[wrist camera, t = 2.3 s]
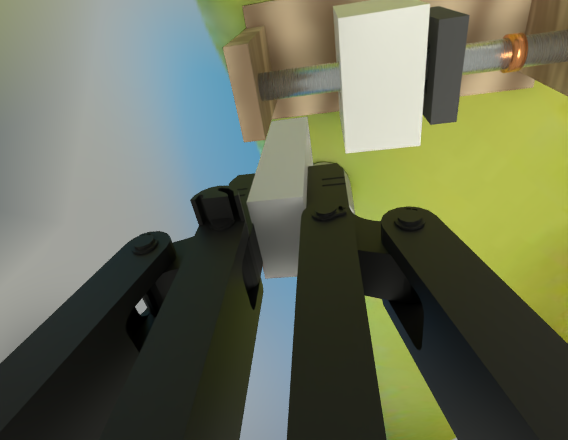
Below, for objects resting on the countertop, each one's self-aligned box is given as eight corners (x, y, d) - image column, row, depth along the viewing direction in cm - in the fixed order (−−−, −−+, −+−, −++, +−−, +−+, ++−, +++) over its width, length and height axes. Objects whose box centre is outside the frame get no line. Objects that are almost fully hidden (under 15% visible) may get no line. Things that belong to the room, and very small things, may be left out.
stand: (264, 117, 44) (248, 162, 34) (243, 5, 37) (216, 18, 27) (528, 85, 40) (601, 124, 29) (559, -49, 33) (667, -57, 23)
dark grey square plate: (410, 97, 35) (430, 124, 29) (415, 9, 31) (439, 19, 25) (431, 94, 35) (456, 121, 29) (439, 5, 31) (469, 15, 25)
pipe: (255, 100, 34) (250, 109, 32) (249, 68, 33) (244, 76, 30) (577, 57, 30) (599, 65, 28) (588, 19, 29) (612, 23, 26)
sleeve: (339, 114, 38) (345, 153, 30) (332, 6, 33) (338, 18, 24) (397, 107, 37) (420, 145, 29) (401, -6, 32) (430, 3, 23)
